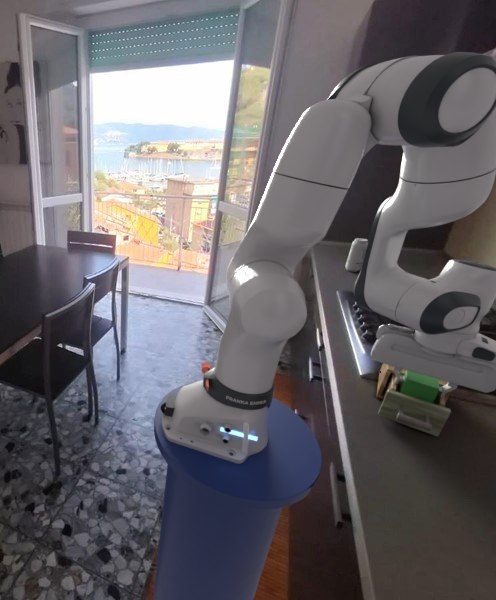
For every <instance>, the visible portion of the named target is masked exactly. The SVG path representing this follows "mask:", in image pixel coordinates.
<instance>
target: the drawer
mask: <svg viewBox="0 0 496 600" xmlns="http://www.w3.org/2000/svg"><path fill="white" fill-rule="evenodd" d="M395 378H396V376H395V374H394V373H391V375H390V377H389V380H388V382H387V384H386V387H385V393H384V399H382V402H381V404H380V406H379V409H378V412H377V416H379V417H382V418H385V419H387V420H390V421H393V422H396V423H399V424H401V425H404V426H407V427H410V428H412V429H415V430H419V431H421V432H424V433H427V434H429V435H432V436H435V437H439V436H440V434H441V433H442V430H443V428H444V426H445V425H446V423H447V421H448V419H449V417H450V415H451V413H452V411H451V408H448V407H446V403H445V398H440V397H437V396H436V397H435V399H434V402H433V403H430V402H427V401H424V400H421V399H418V398H415V397H411V396H408V395H405V394H402V393H400V385H398V384H395V383H394V381H395Z"/></svg>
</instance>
